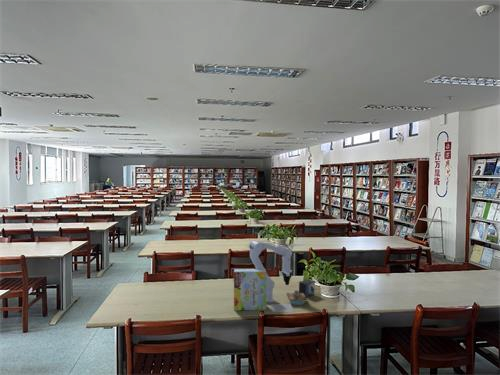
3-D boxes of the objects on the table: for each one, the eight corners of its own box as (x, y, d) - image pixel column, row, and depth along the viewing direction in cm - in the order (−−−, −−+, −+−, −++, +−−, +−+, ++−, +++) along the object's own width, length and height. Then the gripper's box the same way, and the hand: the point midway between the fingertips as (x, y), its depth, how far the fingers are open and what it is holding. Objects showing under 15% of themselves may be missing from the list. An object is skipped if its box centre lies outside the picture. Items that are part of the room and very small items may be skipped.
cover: (289, 300, 236) (289, 294, 235) (286, 294, 248) (286, 288, 247) (306, 300, 236) (306, 294, 236) (303, 294, 248) (303, 288, 248)
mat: (272, 312, 224) (272, 312, 224) (270, 304, 238) (270, 304, 238) (293, 312, 225) (293, 312, 225) (290, 304, 239) (290, 303, 239)
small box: (304, 298, 252) (304, 283, 251) (298, 295, 257) (298, 281, 256) (314, 295, 258) (315, 281, 257) (308, 292, 263) (308, 279, 263)
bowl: (290, 305, 237) (290, 299, 237) (288, 300, 247) (288, 294, 247) (305, 305, 237) (305, 299, 237) (302, 300, 247) (302, 294, 247)
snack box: (265, 305, 236) (266, 268, 235) (266, 310, 228) (267, 271, 227) (233, 305, 235) (234, 268, 235) (233, 310, 227) (233, 271, 226)
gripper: (293, 267, 245) (293, 286, 245) (290, 262, 259) (290, 280, 260) (283, 267, 244) (283, 286, 245) (280, 262, 259) (280, 280, 259)
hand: (286, 283), depth 252 cm, fingers open, 7 cm apart
